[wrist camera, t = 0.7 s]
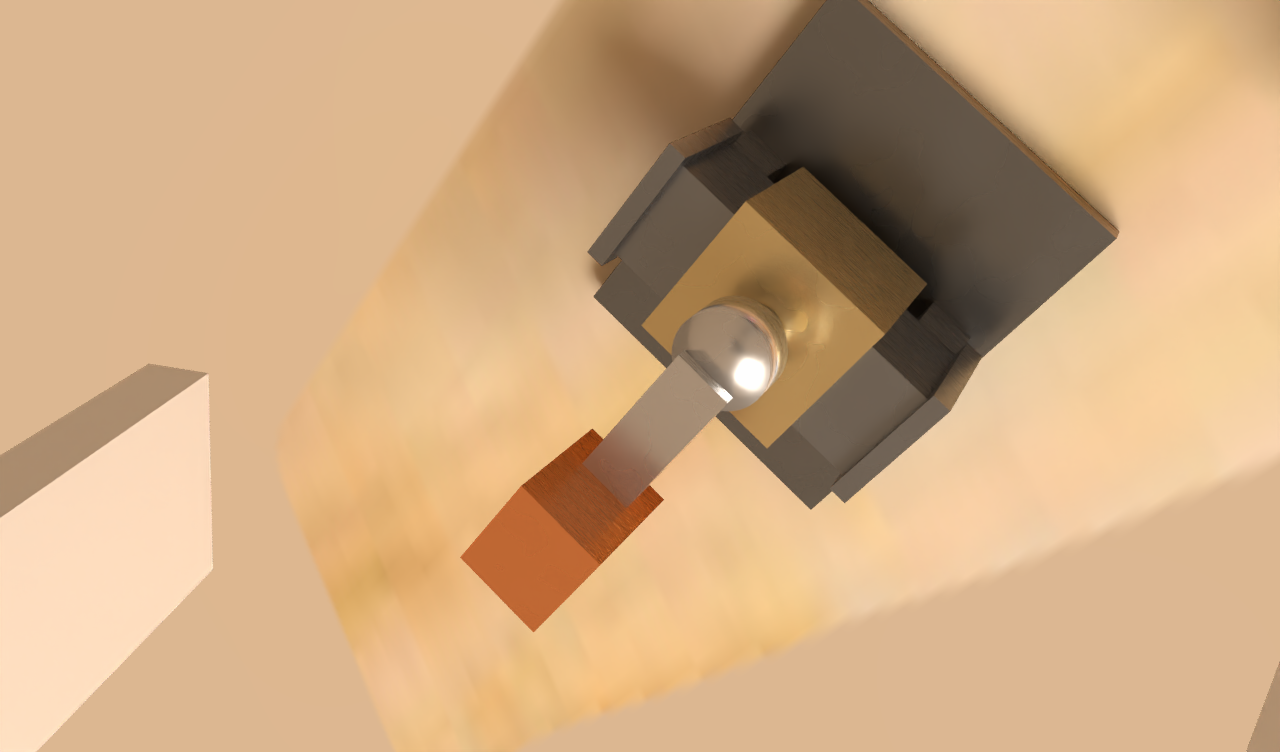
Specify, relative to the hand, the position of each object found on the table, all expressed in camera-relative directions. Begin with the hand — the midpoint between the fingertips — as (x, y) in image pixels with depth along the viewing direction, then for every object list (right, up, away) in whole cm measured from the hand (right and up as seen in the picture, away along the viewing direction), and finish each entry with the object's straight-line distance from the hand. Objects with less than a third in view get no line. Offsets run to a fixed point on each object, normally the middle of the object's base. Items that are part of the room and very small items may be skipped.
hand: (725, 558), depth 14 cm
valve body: (+5, +6, +24) cm, 25 cm away
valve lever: (0, +1, +20) cm, 20 cm away
